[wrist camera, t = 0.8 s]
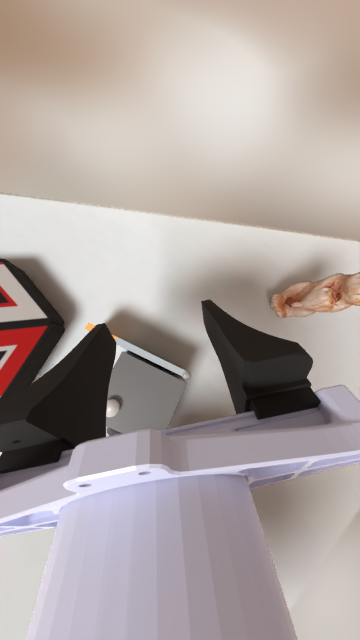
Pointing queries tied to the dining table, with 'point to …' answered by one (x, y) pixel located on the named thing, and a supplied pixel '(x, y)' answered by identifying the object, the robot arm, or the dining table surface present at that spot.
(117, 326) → the dining table surface
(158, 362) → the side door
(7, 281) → the emblem
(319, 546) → the dining table surface
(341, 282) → the figurine
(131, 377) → the grey box with knob
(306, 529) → the dining table surface
